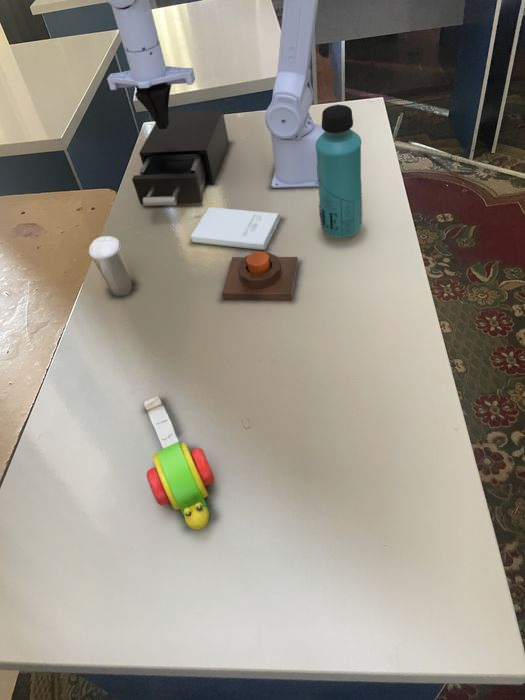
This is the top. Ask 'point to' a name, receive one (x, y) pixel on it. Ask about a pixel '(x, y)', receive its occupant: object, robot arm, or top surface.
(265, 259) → the release button
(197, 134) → the small drawer cabinet
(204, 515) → the toy measuring tape
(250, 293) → the control block
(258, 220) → the hard drive
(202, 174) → the black drawer
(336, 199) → the beverage bottle
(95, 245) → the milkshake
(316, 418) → the top surface
